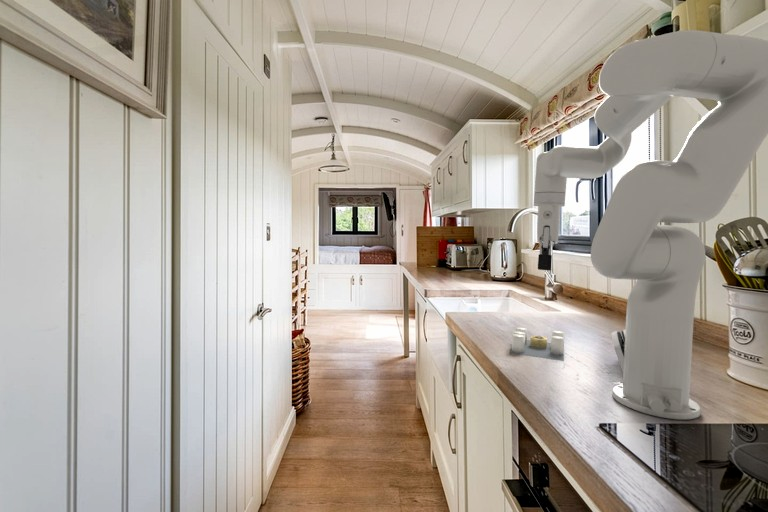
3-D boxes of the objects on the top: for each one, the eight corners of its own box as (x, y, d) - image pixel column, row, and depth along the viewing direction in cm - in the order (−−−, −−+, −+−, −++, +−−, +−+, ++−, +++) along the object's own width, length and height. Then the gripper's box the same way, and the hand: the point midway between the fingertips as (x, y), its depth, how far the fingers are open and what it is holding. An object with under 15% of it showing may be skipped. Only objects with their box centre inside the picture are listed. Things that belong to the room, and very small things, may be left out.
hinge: (654, 385, 75) (637, 336, 77) (628, 388, 78) (611, 341, 79) (647, 363, 90) (632, 322, 91) (624, 366, 92) (610, 326, 93)
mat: (563, 362, 89) (563, 360, 89) (509, 354, 94) (509, 352, 94) (563, 346, 103) (563, 344, 103) (516, 340, 108) (516, 338, 108)
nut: (546, 349, 98) (546, 340, 98) (529, 347, 100) (530, 338, 99) (546, 345, 102) (547, 336, 102) (531, 343, 104) (531, 334, 104)
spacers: (563, 359, 90) (564, 343, 89) (510, 351, 95) (510, 336, 95) (563, 346, 101) (564, 331, 101) (516, 340, 107) (516, 326, 106)
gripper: (565, 198, 90) (559, 274, 91) (564, 202, 103) (559, 268, 105) (532, 198, 93) (527, 271, 94) (535, 202, 106) (530, 266, 108)
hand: (544, 269), depth 100 cm, fingers closed
